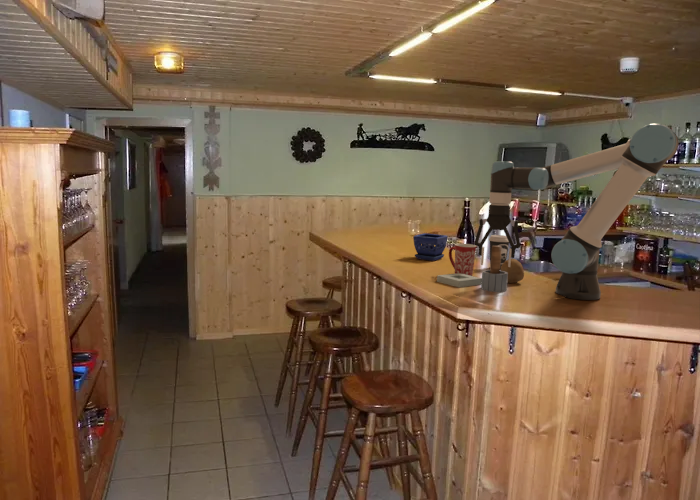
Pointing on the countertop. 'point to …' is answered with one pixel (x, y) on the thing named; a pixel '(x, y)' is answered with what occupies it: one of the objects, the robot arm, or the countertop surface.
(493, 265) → the brown wooden bar
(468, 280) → the socket block
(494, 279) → the cup
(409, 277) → the countertop surface
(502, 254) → the coffee cup
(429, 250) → the flower pot
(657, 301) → the countertop surface
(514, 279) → the brown rounded lump
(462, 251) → the mug
